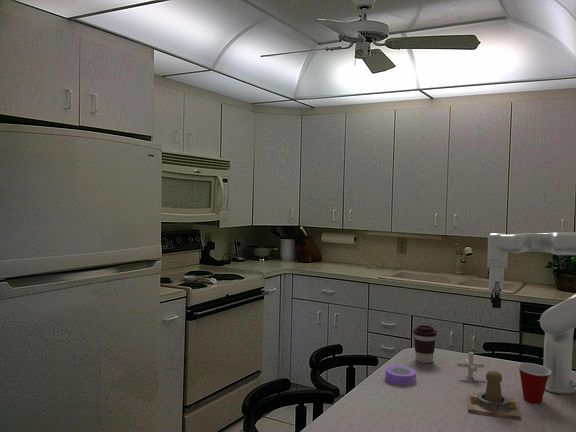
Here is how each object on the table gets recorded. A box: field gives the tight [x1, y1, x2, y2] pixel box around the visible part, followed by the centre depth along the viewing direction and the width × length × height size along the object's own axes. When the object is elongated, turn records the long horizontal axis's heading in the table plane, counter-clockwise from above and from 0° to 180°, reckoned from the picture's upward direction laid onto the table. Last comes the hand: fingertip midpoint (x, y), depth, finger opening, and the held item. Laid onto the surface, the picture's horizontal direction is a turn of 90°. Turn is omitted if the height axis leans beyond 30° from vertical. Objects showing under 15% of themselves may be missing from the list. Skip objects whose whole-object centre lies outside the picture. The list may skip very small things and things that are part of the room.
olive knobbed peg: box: [484, 370, 503, 402], centre depth 178 cm, size 6×6×11 cm
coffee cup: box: [413, 324, 438, 364], centre depth 227 cm, size 10×10×15 cm
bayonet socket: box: [467, 391, 521, 420], centre depth 178 cm, size 16×16×3 cm
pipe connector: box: [457, 351, 485, 379], centre depth 207 cm, size 10×10×10 cm
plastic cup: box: [517, 362, 551, 405], centre depth 184 cm, size 11×11×12 cm
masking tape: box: [385, 365, 417, 386], centre depth 203 cm, size 12×12×4 cm
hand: (495, 305), depth 210 cm, fingers open, 9 cm apart
